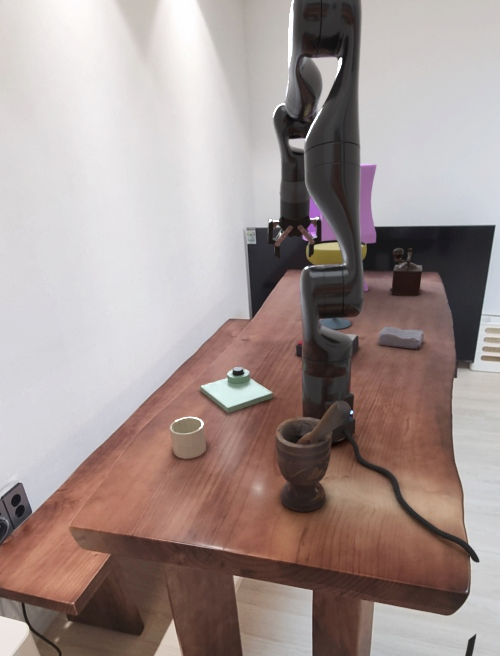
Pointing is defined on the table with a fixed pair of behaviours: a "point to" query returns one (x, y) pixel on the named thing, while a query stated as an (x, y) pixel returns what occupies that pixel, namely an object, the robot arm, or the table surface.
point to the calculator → (353, 337)
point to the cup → (188, 437)
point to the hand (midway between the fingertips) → (294, 256)
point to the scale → (236, 392)
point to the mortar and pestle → (307, 456)
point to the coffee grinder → (405, 275)
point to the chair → (365, 211)
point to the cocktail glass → (331, 255)
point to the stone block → (401, 337)
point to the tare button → (238, 371)
